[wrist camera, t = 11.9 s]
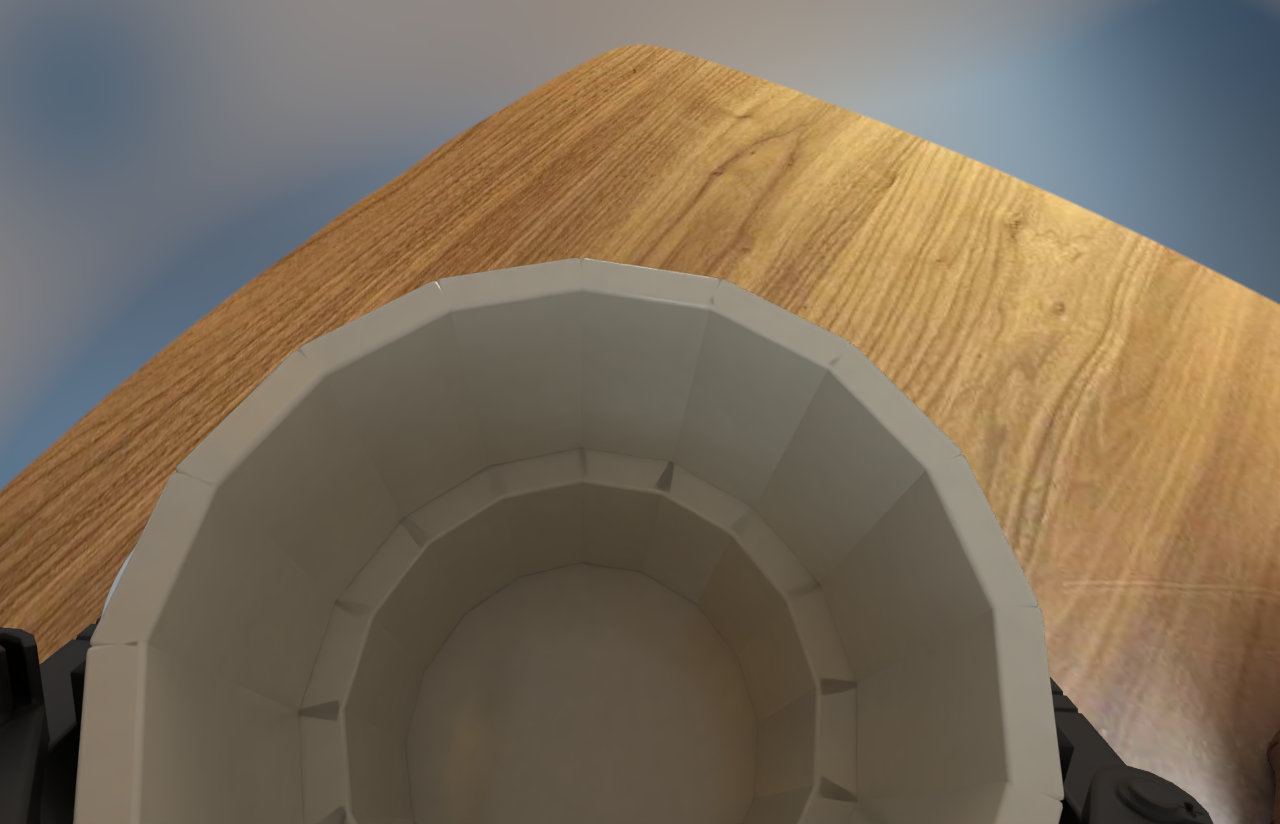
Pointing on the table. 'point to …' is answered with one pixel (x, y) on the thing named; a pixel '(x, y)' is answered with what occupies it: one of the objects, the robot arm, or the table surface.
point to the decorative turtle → (1276, 755)
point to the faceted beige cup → (572, 583)
